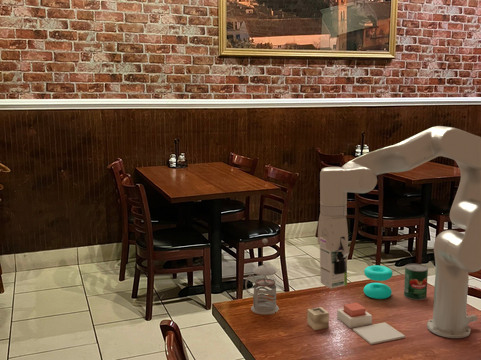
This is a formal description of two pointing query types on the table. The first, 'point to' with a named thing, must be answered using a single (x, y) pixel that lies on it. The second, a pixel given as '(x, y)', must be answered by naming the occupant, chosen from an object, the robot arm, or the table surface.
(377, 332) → the grey pad
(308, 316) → the letter cube
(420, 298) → the canned tomato
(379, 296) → the donuts
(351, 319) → the button housing
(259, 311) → the french press
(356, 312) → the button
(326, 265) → the syrup box
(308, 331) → the table surface
